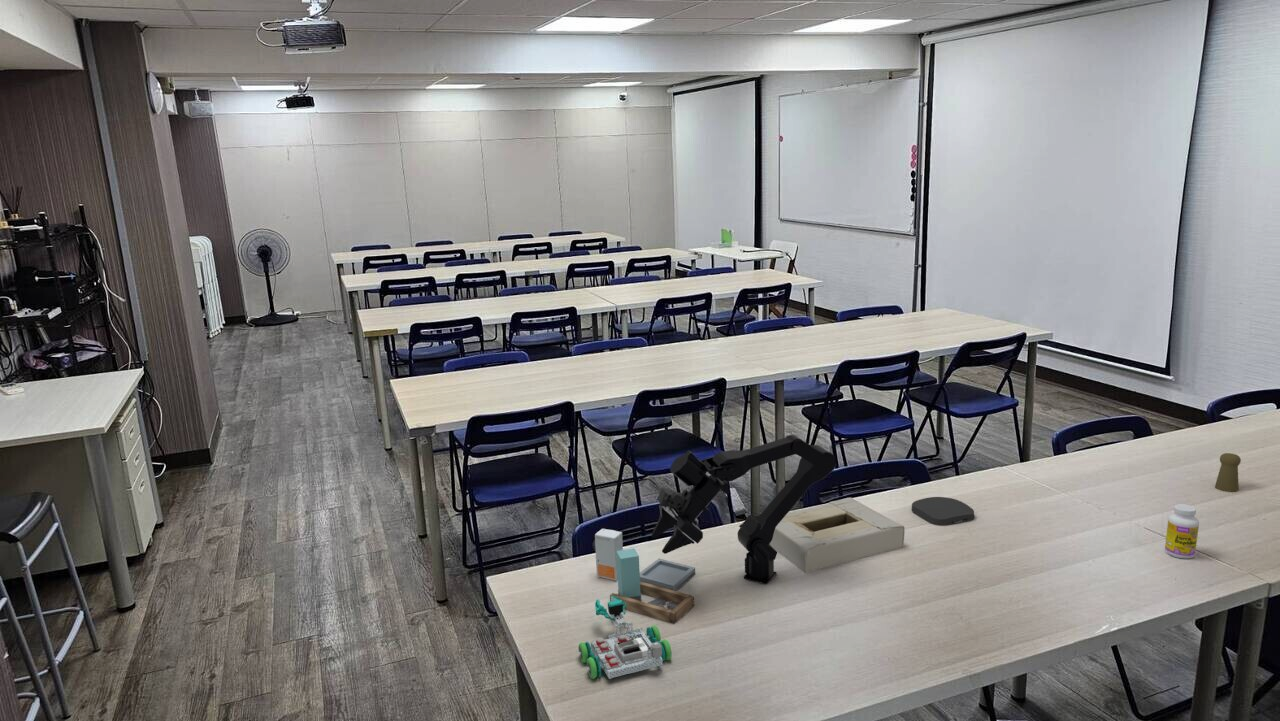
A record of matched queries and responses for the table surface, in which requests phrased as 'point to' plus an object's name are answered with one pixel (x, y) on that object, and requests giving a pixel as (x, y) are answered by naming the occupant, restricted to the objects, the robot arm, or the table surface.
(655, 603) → the set of grey tiles
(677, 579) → the tray
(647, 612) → the slot rail
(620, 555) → the tall teal block
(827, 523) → the box
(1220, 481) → the cork
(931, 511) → the media streaming box
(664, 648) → the robot kit
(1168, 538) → the supplement bottle
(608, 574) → the skincare box
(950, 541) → the table surface
